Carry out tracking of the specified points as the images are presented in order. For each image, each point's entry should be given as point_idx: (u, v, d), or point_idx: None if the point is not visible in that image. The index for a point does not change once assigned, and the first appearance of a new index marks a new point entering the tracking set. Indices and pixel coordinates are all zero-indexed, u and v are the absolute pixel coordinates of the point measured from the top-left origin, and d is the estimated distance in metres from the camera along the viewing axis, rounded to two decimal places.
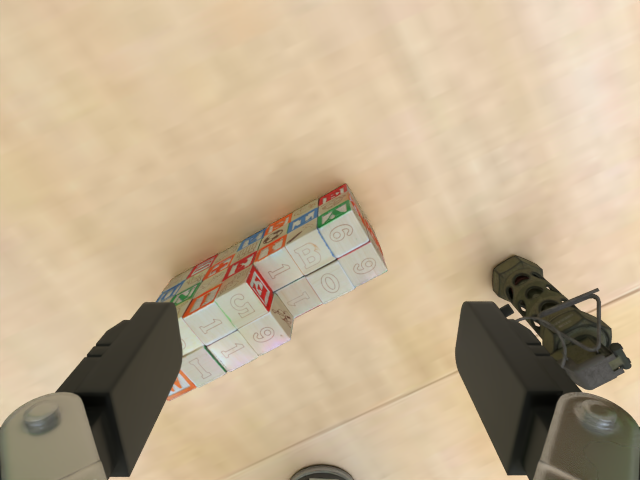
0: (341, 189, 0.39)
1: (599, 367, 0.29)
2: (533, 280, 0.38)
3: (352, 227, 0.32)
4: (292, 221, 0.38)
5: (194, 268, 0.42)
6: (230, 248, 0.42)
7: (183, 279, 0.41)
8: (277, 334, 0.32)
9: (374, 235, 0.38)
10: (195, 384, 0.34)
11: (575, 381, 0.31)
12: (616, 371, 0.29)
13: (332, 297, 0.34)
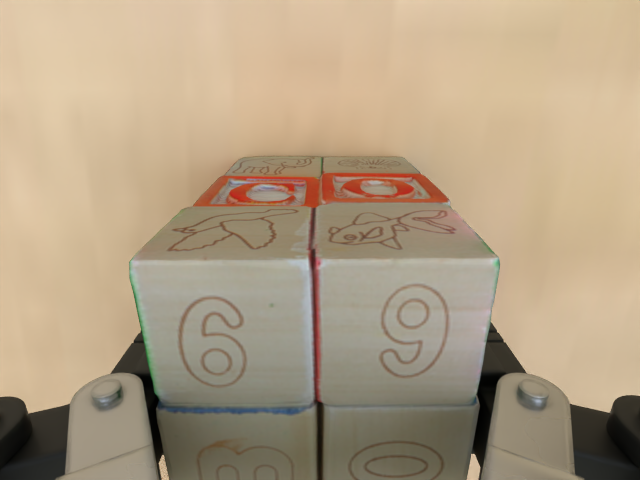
0: None
1: None
2: None
3: (208, 295, 0.07)
4: None
5: None
6: None
7: None
8: None
9: (389, 173, 0.12)
10: None
11: None
12: None
13: None
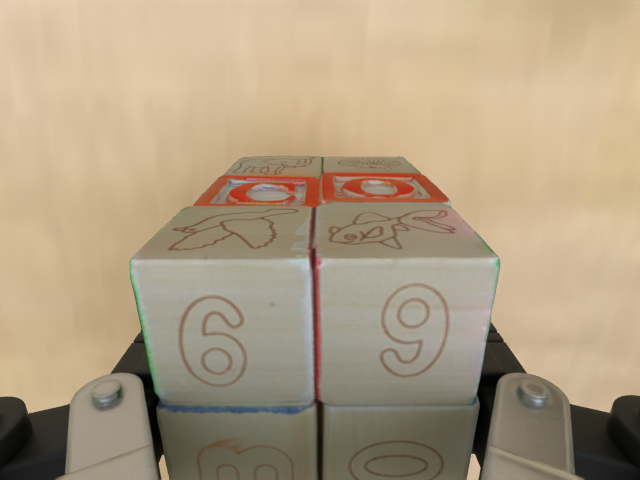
0: None
1: None
2: None
3: (209, 294, 0.07)
4: None
5: None
6: None
7: None
8: None
9: (389, 173, 0.12)
10: None
11: None
12: None
13: None
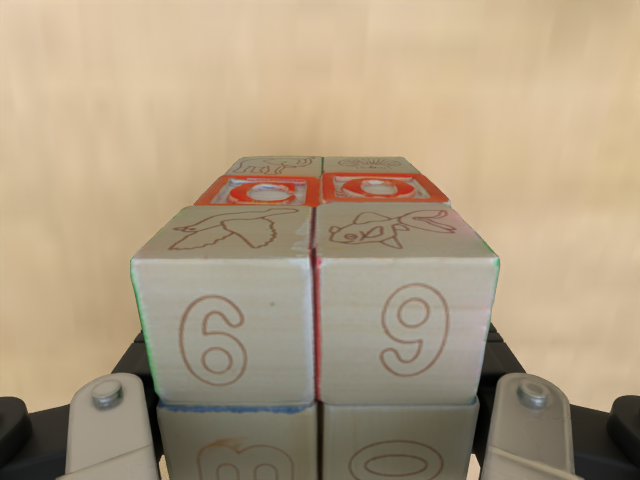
0: None
1: None
2: None
3: (209, 293, 0.07)
4: None
5: None
6: None
7: None
8: None
9: (389, 173, 0.12)
10: None
11: None
12: None
13: None
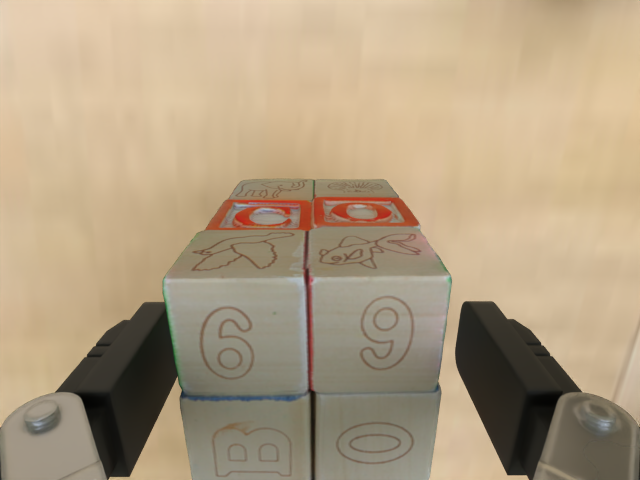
0: None
1: None
2: None
3: (225, 305, 0.09)
4: None
5: None
6: None
7: None
8: None
9: (371, 197, 0.14)
10: None
11: None
12: None
13: (422, 457, 0.10)
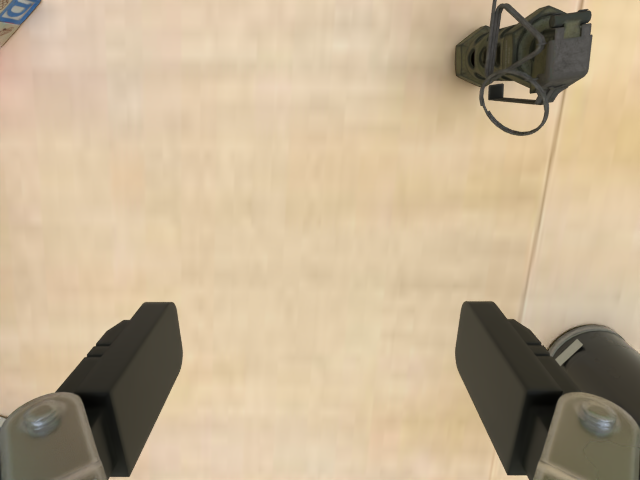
0: None
1: (563, 51, 0.24)
2: (477, 48, 0.33)
3: None
4: None
5: None
6: None
7: None
8: None
9: None
10: None
11: (570, 81, 0.25)
12: (583, 32, 0.24)
13: None
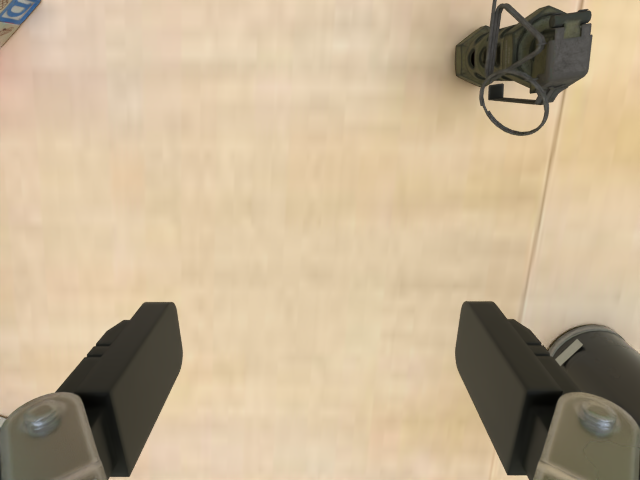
0: None
1: (563, 51, 0.24)
2: (477, 48, 0.33)
3: None
4: None
5: None
6: None
7: None
8: None
9: None
10: None
11: (570, 81, 0.25)
12: (583, 32, 0.24)
13: None
